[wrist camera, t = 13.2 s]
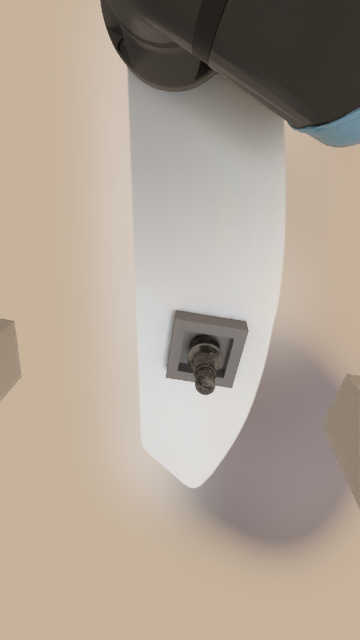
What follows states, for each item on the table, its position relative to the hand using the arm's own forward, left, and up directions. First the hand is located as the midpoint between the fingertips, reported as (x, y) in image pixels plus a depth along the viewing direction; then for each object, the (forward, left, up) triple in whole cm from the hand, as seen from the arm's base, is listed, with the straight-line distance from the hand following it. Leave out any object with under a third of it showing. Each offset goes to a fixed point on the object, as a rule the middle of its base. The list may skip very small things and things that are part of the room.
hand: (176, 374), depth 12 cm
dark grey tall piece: (+20, +5, -34) cm, 40 cm away
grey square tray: (+20, +5, -35) cm, 40 cm away
